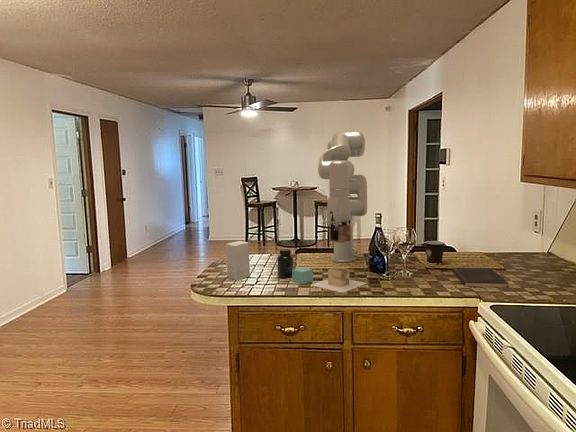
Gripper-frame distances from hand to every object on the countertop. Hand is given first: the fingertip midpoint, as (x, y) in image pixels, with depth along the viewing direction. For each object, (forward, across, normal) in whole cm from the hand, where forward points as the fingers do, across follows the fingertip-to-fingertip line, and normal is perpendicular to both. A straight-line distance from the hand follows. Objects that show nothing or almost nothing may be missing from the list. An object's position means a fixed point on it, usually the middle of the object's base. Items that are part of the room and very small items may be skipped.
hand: (339, 238), depth 172 cm
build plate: (+19, 0, 0) cm, 19 cm away
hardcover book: (+20, -44, +37) cm, 61 cm away
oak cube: (+18, 0, 0) cm, 18 cm away
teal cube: (+20, +6, -14) cm, 25 cm away
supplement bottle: (+20, +3, -28) cm, 34 cm away
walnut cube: (+1, 0, 0) cm, 1 cm away
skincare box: (+20, +17, -43) cm, 50 cm away
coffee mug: (+20, -59, +10) cm, 63 cm away
